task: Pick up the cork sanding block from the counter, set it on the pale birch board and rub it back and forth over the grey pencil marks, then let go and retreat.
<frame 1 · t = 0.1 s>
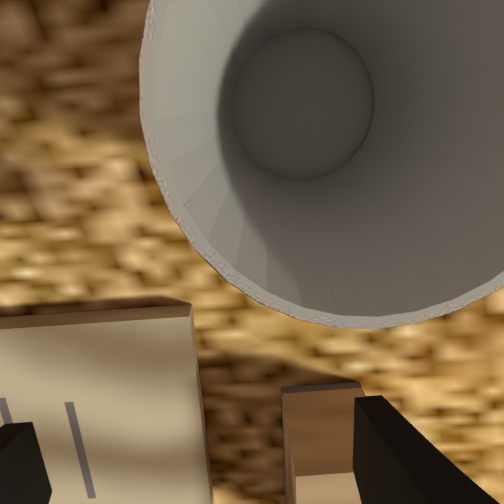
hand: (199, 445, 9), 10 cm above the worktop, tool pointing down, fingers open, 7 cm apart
sanding block: (319, 444, 22), on the worktop
board: (30, 438, 21), on the worktop
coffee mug: (319, 140, 17), on the worktop
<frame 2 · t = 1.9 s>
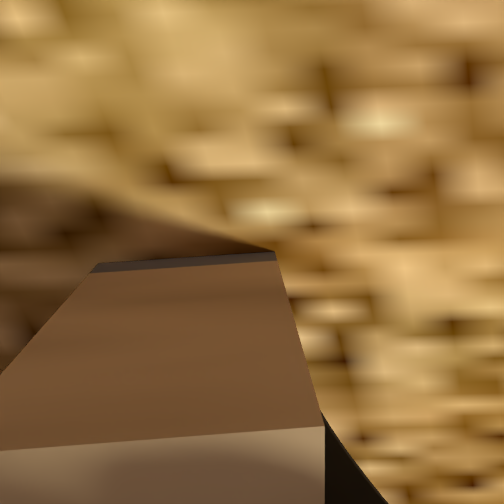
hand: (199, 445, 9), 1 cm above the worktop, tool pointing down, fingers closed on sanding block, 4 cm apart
sanding block: (203, 402, 11), on the worktop, touching gripper
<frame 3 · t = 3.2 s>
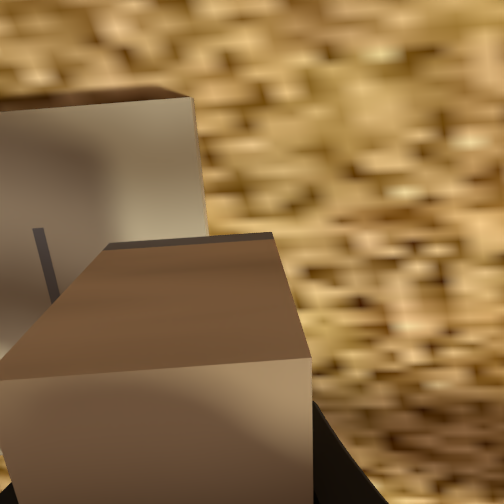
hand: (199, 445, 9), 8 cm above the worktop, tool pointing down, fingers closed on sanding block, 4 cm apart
sanding block: (206, 374, 11), point 6 cm above the worktop, touching gripper
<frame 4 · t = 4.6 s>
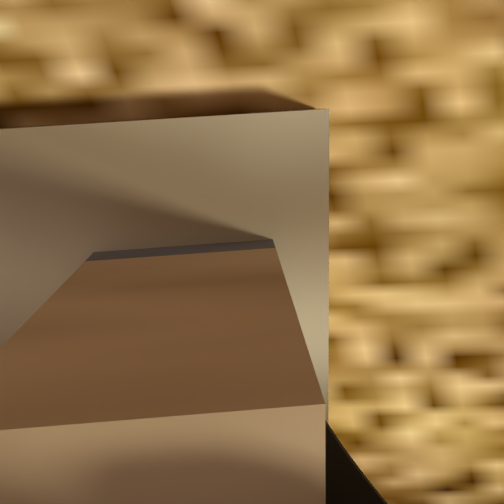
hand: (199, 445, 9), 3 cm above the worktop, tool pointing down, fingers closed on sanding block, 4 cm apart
sanding block: (201, 394, 11), point 1 cm above the worktop, touching board, gripper
board: (2, 390, 12), on the worktop
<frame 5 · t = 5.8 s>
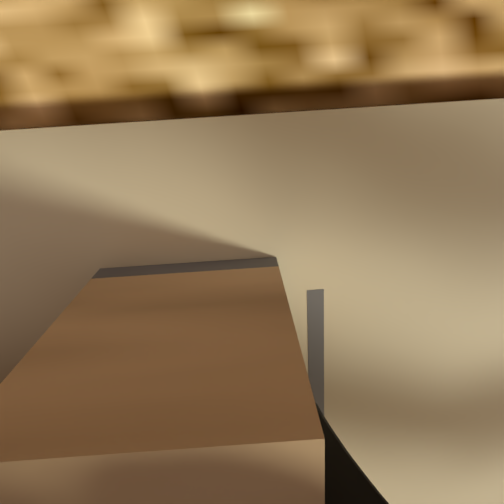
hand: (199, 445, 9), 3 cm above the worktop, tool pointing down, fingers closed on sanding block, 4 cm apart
sanding block: (205, 407, 11), point 1 cm above the worktop, touching gripper
board: (204, 375, 12), on the worktop
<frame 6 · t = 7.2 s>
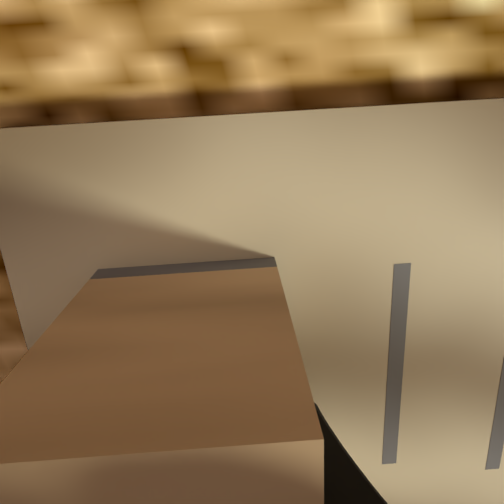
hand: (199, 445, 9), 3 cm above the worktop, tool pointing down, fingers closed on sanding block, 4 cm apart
sanding block: (203, 407, 11), point 1 cm above the worktop, touching gripper
board: (378, 362, 12), on the worktop
when the fingers open (3 cm above the worktop, at t = 12.2 s): sanding block stays where it is, resting on board.
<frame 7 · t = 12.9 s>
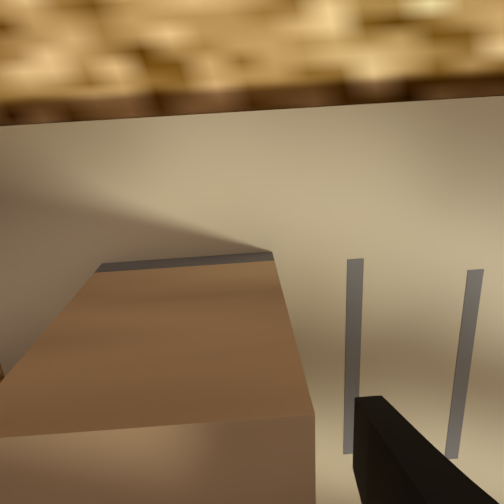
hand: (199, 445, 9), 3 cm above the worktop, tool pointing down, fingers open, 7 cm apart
sanding block: (203, 397, 11), point 1 cm above the worktop, touching board
board: (341, 355, 12), on the worktop
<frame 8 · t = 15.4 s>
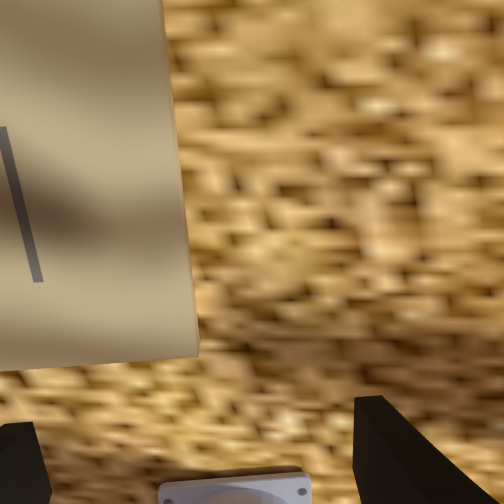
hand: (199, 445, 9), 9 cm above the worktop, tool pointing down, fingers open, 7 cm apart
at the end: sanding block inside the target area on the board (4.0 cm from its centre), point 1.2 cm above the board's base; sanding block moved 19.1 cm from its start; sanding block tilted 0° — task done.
